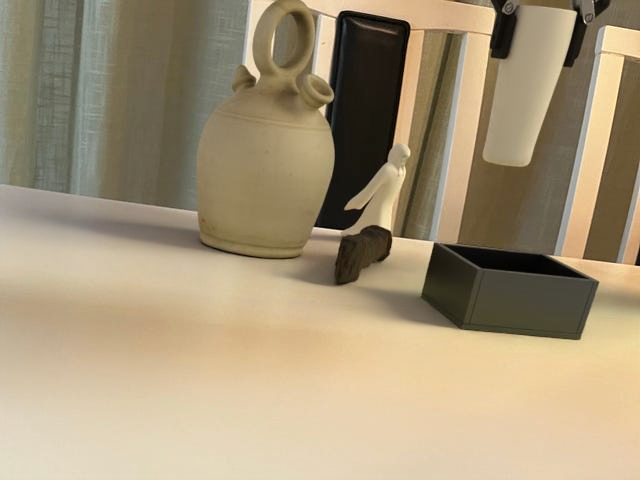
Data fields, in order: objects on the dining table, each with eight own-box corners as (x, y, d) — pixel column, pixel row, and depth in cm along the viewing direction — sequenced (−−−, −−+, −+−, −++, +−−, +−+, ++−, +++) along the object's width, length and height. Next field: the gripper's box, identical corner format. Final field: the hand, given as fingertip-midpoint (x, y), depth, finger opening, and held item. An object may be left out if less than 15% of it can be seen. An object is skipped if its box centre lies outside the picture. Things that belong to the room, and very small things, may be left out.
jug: (339, 265, 115) (391, 9, 102) (216, 259, 110) (254, -12, 96) (281, 236, 127) (321, 3, 114) (167, 229, 121) (195, -16, 108)
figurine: (369, 250, 125) (392, 144, 119) (321, 236, 130) (341, 133, 124) (405, 247, 130) (429, 145, 124) (358, 234, 135) (378, 135, 128)
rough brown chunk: (356, 256, 121) (364, 215, 118) (388, 263, 120) (397, 221, 117) (311, 282, 106) (319, 236, 103) (347, 290, 105) (357, 243, 102)
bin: (528, 307, 107) (544, 253, 104) (580, 339, 97) (600, 281, 94) (420, 296, 106) (433, 241, 103) (461, 329, 95) (478, 269, 92)
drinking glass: (512, 161, 117) (551, 10, 109) (547, 170, 112) (592, 13, 104) (462, 157, 115) (499, 3, 107) (496, 166, 110) (538, 5, 102)
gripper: (517, -163, 95) (467, 55, 104) (685, -137, 97) (622, 73, 106) (487, -153, 101) (442, 51, 110) (646, -129, 103) (589, 69, 113)
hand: (531, 61), depth 108 cm, fingers closed on drinking glass, 6 cm apart
